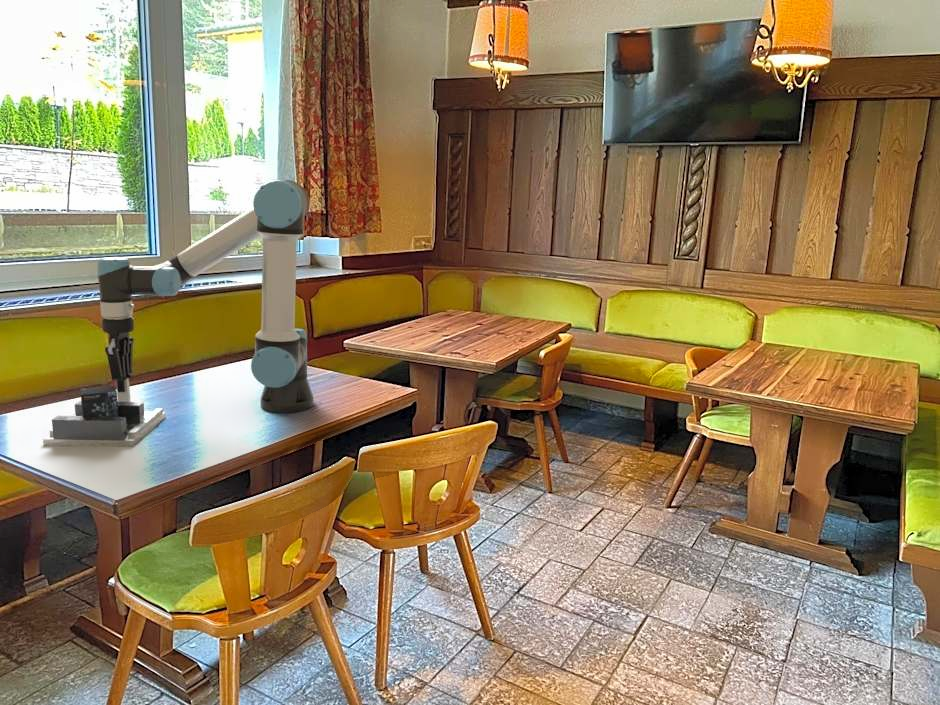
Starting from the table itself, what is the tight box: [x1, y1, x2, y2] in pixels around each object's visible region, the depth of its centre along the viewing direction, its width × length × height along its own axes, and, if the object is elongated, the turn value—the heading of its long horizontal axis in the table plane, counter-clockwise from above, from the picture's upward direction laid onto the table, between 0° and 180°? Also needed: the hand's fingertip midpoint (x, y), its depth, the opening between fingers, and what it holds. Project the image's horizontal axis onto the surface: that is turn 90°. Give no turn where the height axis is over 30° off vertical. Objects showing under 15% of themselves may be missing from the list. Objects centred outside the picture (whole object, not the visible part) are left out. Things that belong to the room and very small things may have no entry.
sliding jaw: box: [74, 400, 145, 424], centre depth 181 cm, size 16×3×5 cm, turn 94°
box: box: [79, 385, 119, 417], centre depth 175 cm, size 8×6×11 cm
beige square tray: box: [42, 407, 166, 447], centre depth 180 cm, size 21×22×6 cm
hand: (124, 402), depth 190 cm, fingers closed
